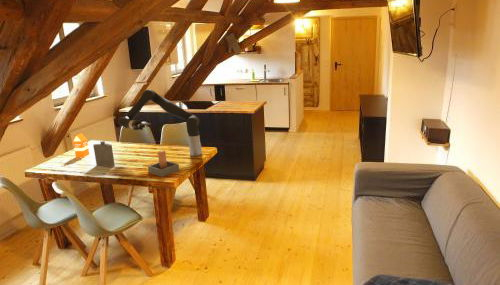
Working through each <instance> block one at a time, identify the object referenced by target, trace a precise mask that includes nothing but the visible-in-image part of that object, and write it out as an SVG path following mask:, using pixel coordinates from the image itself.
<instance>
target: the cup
mask: <svg viewBox="0 0 500 285" xmlns="http://www.w3.org/2000/svg"><path fill="white" fill-rule="evenodd" d="M166 153H167V152H166V150H159V151H157V158H158V163H159V166H160V169H161V170H162V169H164V168H167V161H168V160H167V154H166Z"/></svg>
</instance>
